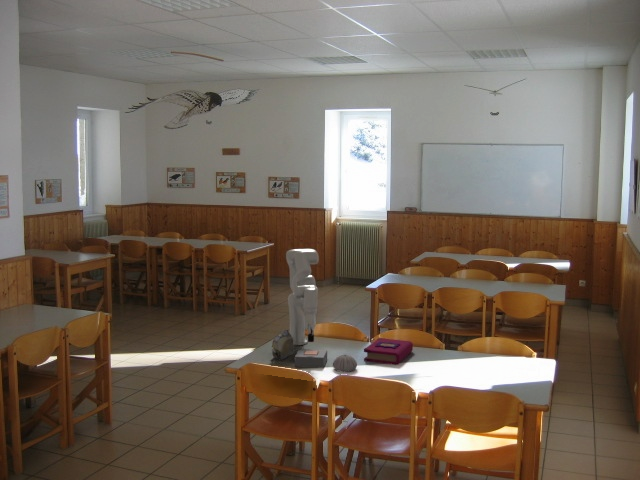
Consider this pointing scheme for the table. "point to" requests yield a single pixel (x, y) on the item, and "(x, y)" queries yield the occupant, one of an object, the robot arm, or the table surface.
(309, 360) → the button box
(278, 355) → the fossil rock
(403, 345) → the book
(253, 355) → the table surface
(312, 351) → the button
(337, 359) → the sea urchin shell
